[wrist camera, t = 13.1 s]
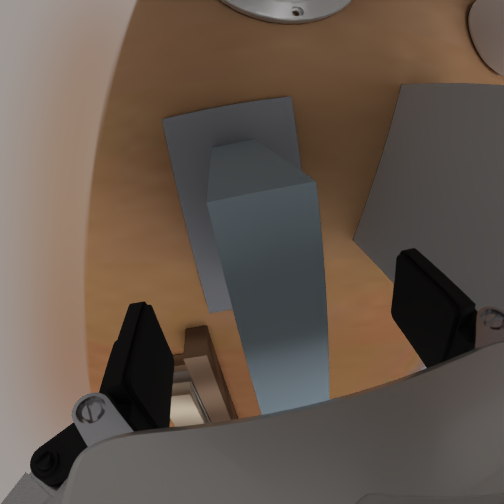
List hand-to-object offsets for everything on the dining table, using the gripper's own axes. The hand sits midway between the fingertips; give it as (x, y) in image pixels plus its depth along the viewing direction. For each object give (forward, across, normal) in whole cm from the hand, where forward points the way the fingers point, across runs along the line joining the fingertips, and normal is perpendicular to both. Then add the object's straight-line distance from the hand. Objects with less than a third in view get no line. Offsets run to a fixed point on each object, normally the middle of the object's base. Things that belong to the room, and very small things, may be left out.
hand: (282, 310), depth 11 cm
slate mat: (+14, 0, +1) cm, 14 cm away
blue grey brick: (+13, 0, +1) cm, 13 cm away
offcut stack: (+13, +10, +20) cm, 26 cm away
